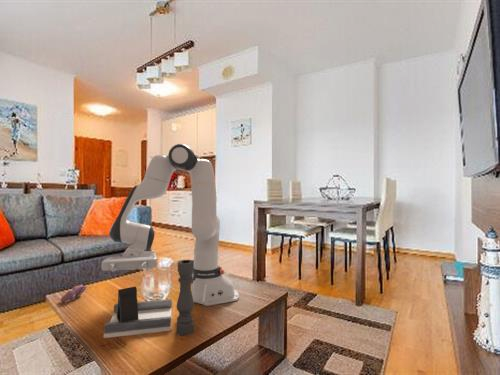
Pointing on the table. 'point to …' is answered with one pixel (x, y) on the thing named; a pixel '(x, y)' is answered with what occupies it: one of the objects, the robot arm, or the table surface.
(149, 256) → the robot arm
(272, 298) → the table surface
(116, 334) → the track base
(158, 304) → the track rails
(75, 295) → the video game controller
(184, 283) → the candle holder
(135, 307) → the phone stand
